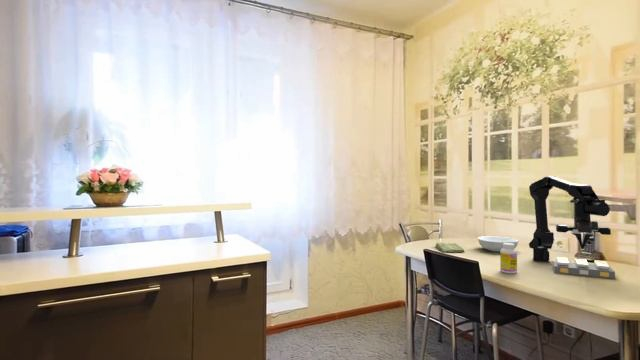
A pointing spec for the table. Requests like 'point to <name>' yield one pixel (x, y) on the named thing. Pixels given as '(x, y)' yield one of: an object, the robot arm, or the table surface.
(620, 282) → the table surface
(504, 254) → the supplement bottle
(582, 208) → the robot arm
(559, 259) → the rocker
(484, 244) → the serving bowl
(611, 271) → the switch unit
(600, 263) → the block
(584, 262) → the rocker
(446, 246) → the washcloth
